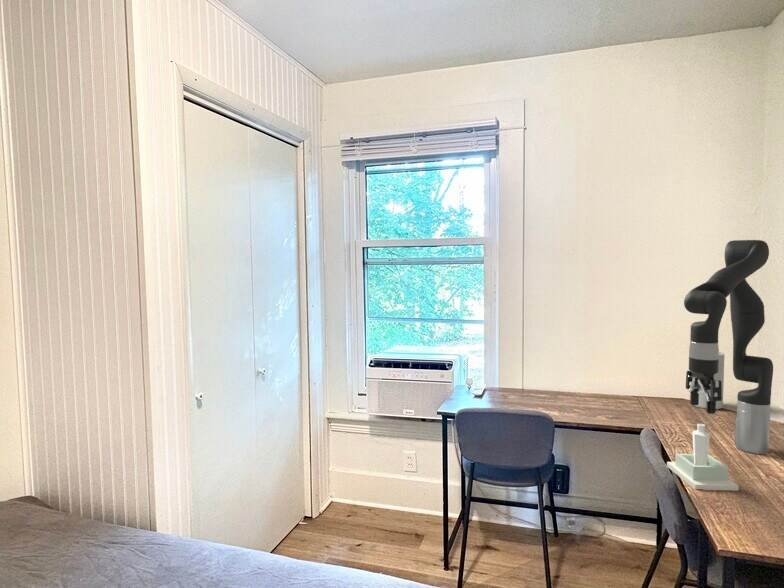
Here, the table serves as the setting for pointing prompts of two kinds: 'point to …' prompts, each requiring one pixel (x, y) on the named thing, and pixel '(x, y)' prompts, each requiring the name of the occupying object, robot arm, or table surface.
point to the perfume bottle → (700, 445)
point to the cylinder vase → (716, 377)
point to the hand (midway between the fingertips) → (702, 408)
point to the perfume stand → (702, 473)
